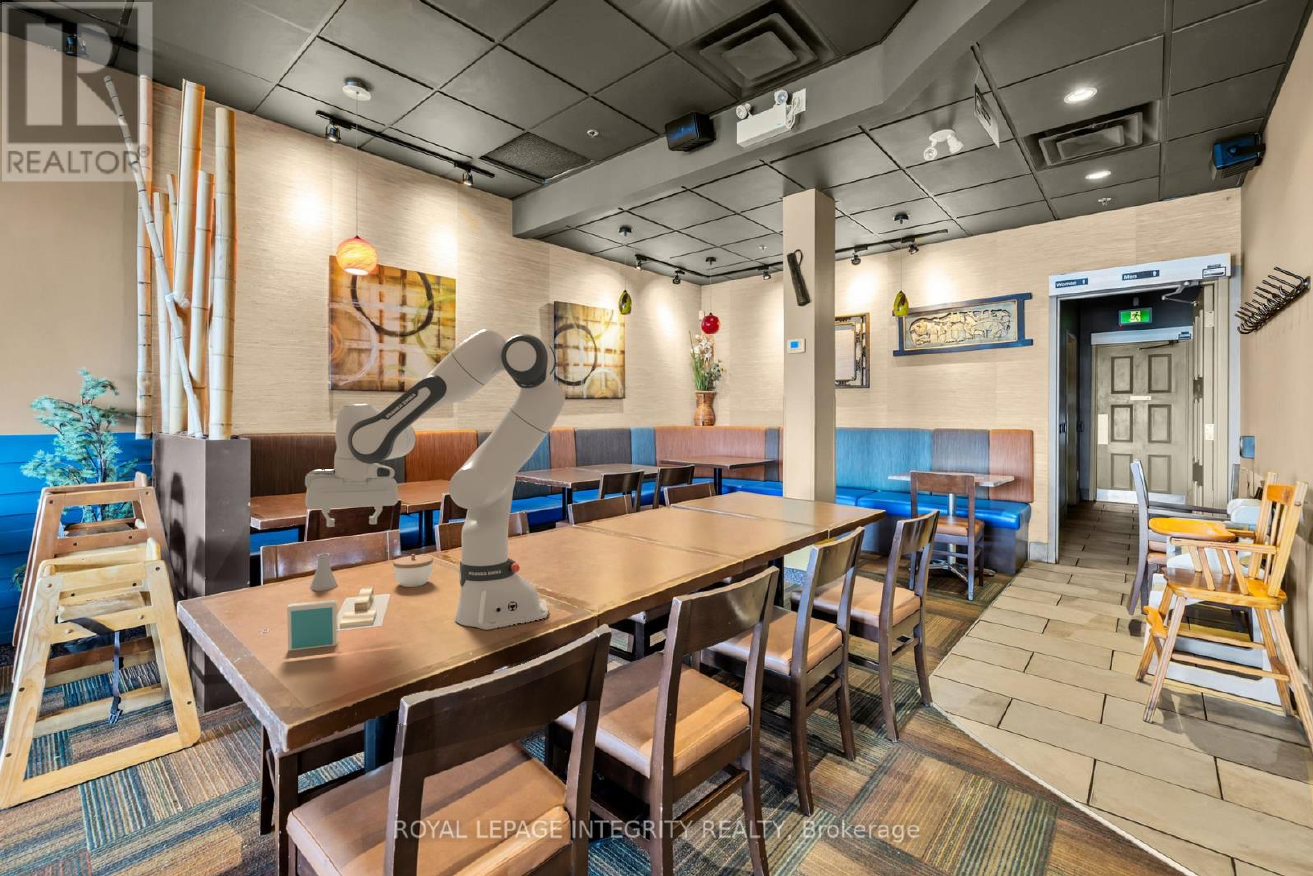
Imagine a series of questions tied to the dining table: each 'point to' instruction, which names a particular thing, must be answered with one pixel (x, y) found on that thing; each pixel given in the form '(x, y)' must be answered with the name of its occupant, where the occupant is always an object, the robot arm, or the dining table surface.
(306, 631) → the rectangular block
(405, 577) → the lidded jar
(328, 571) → the flask
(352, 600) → the mat
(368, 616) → the turner
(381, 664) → the dining table surface
